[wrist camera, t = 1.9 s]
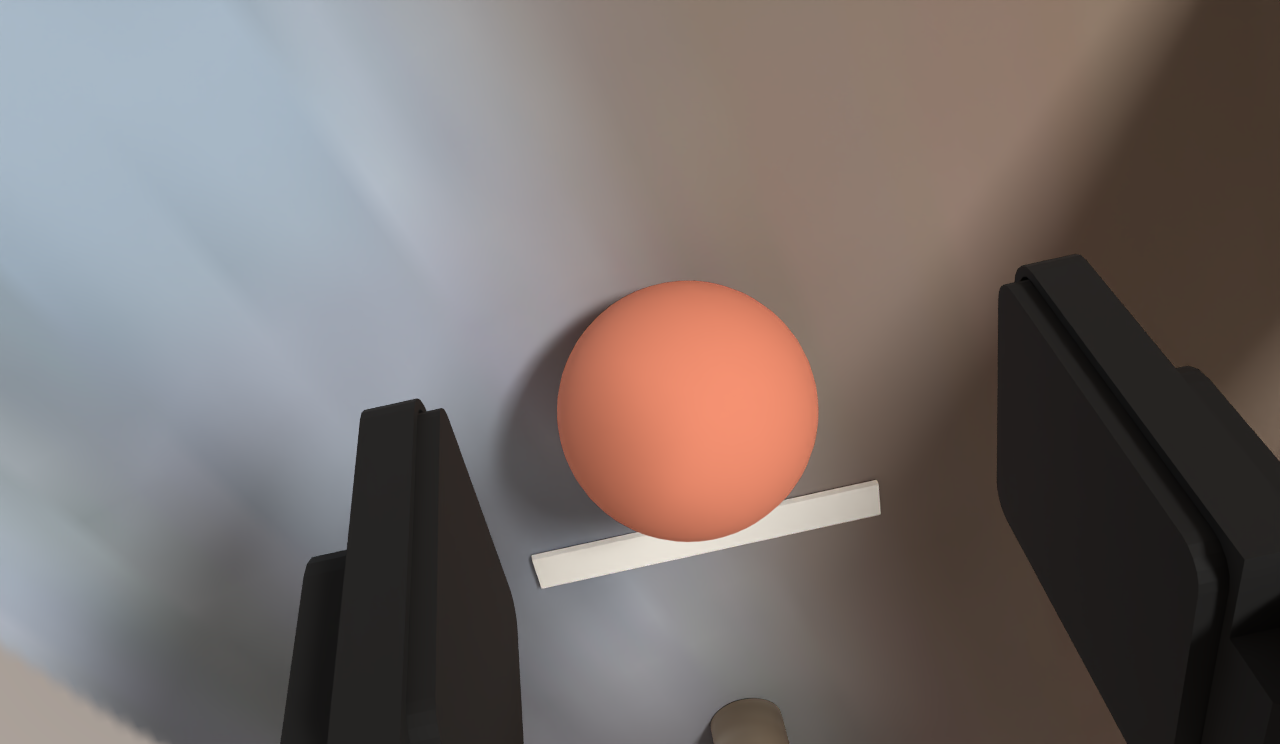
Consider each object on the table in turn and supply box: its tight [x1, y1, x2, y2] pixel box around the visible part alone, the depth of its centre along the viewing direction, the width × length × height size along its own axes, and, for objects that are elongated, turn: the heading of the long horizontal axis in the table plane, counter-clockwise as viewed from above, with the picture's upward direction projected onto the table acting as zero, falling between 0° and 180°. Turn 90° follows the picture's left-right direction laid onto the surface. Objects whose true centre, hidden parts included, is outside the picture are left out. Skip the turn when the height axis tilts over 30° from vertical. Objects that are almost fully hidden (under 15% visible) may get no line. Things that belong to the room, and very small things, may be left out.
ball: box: [557, 281, 818, 542], centre depth 27 cm, size 6×6×6 cm
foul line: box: [532, 480, 881, 589], centre depth 34 cm, size 10×1×1 cm, turn 100°
